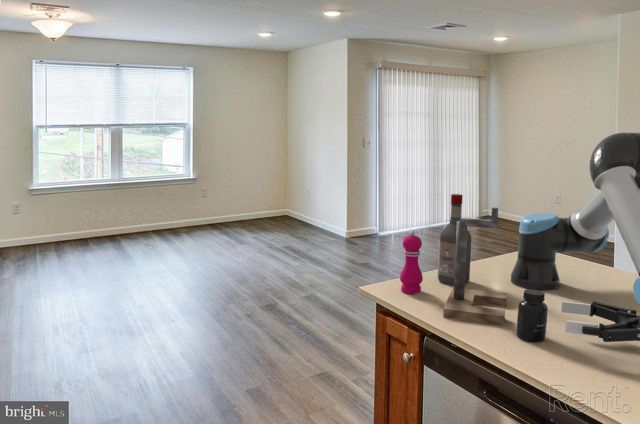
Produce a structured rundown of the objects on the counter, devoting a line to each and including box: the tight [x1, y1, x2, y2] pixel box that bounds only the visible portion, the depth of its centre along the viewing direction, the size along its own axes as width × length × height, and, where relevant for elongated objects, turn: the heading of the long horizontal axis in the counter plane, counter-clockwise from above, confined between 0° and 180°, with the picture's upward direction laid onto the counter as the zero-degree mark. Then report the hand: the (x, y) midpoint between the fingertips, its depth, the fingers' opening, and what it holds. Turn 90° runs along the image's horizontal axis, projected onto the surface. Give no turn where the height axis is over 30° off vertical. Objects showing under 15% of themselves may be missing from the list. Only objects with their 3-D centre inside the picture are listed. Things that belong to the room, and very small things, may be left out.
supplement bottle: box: [515, 288, 549, 343], centre depth 126 cm, size 7×7×12 cm
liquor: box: [437, 193, 472, 287], centre depth 170 cm, size 9×9×30 cm
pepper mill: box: [399, 230, 424, 295], centre depth 161 cm, size 7×7×20 cm
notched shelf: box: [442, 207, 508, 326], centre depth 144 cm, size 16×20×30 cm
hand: (563, 315), depth 122 cm, fingers open, 13 cm apart
